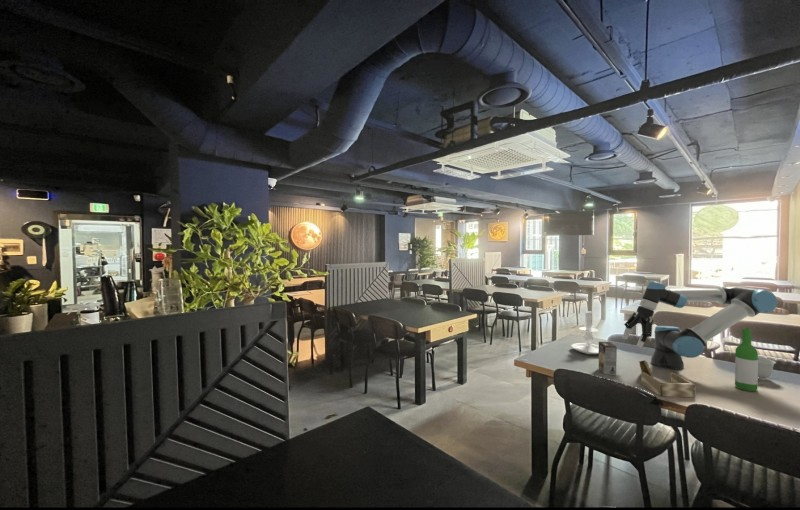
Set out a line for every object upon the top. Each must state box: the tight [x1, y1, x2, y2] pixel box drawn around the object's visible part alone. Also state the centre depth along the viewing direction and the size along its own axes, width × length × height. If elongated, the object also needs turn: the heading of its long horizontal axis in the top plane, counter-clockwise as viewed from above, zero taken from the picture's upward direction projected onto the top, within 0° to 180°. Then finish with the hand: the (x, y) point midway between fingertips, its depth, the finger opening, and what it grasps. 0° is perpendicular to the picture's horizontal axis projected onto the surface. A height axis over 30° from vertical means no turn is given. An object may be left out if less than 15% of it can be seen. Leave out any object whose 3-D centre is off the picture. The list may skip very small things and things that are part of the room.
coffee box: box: [598, 341, 618, 376], centre depth 186 cm, size 9×6×16 cm
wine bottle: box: [734, 327, 759, 392], centre depth 162 cm, size 8×8×30 cm
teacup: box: [758, 355, 777, 381], centre depth 175 cm, size 12×15×10 cm
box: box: [640, 372, 696, 398], centre depth 162 cm, size 15×14×6 cm
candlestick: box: [570, 310, 599, 355], centre depth 217 cm, size 21×25×28 cm
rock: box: [638, 360, 654, 378], centre depth 177 cm, size 11×9×10 cm
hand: (631, 342), depth 186 cm, fingers open, 13 cm apart
